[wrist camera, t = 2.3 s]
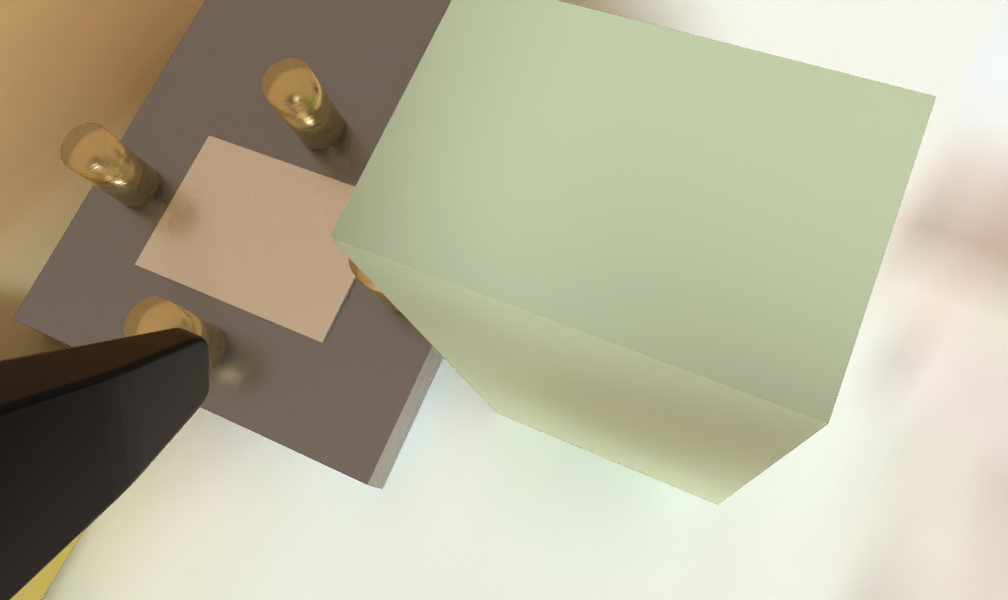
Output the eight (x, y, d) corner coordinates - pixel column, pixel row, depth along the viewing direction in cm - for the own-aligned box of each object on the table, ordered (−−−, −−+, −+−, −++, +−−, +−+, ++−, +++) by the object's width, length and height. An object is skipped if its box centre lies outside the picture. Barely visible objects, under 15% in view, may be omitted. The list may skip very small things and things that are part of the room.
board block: (717, 504, 19) (827, 423, 8) (497, 412, 21) (329, 237, 10) (770, 356, 20) (936, 96, 9) (554, 279, 22) (463, -24, 10)
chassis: (382, 489, 21) (332, 474, 17) (42, 330, 24) (-57, 292, 20) (582, 53, 24) (573, -30, 20) (259, -35, 27) (204, -119, 24)
